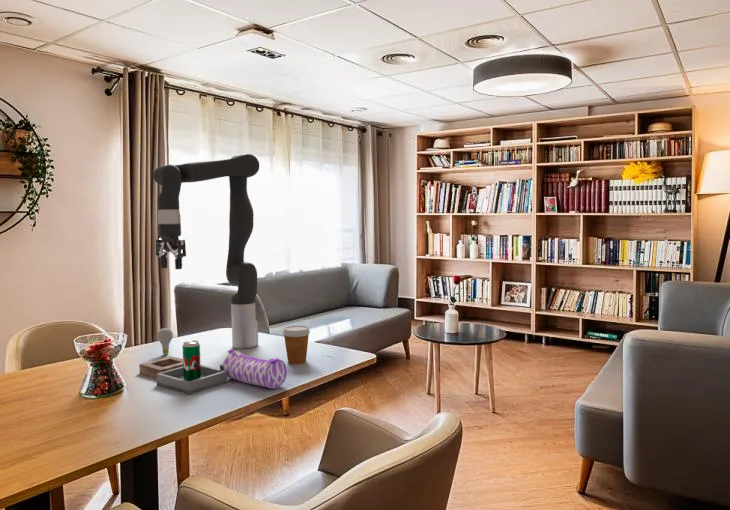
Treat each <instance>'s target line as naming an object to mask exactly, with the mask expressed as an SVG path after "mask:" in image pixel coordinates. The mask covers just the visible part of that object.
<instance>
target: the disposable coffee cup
mask: <svg viewBox="0 0 730 510" xmlns="http://www.w3.org/2000/svg"><path fill="white" fill-rule="evenodd" d="M310 332H311V330H310V328H309V326H307V325H290V326H289V325H288V326H286V327H284V328H283V330H282V334H283V337H284V344H285V351H286V357H287V363H288V364H290V365H301V363H302V364H305V363H306V362H307V355H308V346H309V344H308V343H309V337H310V336H309V335H310ZM304 362H305V363H304Z"/></svg>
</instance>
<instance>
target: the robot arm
mask: <svg viewBox="0 0 730 510" xmlns="http://www.w3.org/2000/svg"><path fill="white" fill-rule="evenodd" d="M259 170H260V162H259V159H258V158H257V157H256V156H255V155H254V154H251V153H245V152H244V153H241V154H239V153H238V154H236V155H233V156H232V157H231V158H227V159H219V160H203V161H193V162H191V161H190V162H187V163H182V164H166V165H161V166H158V167H157V168H155V170H154V172H153V180H154V182H155V183H157V185H159V186H161V191H160V193H158V196H157V209H158V210H157V230H158V236H159V237H161V238H156V239H155V256H156V257H158V258H159V260H160V268H161V269H167V268H168V257H167V256H168V254H169V253H171V254H172V255H173V257H174V258H175V259H174V269H175V270H182V268H183V258H184V257H187V252H186V251H187V250H186V239H183V238H182V239H179V237H180V236H182V222H181V221H182V220H181V218H182V217H181V212H180V199H179V198H180V195H181V194H180V193H181V187H182V184H183V183H184V184H185V183H196V182H197V183H198V182H203V181H209V180H215V179H219V178H226V177H228V181H229V215H228V216H229V219H228V220H229V221H228V222H229V223H228V225H229V228H228V229H229V234H228V236H229V237H228V250H227V251H228V252H227V260H226V261H227V262H226V268H225V276H226V279H227V281H228V283H229V284H231V285H233V286H237V292H236V293H235V294H232V296H230V308H231V309H230V310H231V313H230V314H231V337H232V339H231V340H232V341H231V343H232V348H233V349H251V348H254V347H256V346H257V345H259V325H258V320H256V319H257V318H256V298H257V294H258V272H257V268H256V266H255V265H254V264H253V263H251V262H247V261H245V260H244V259H245V249H246V246H247V243H248V242H249V239H250V237H251V236H252V232H253V229H254V218H255V217H254V209H253V205H252V202H251V200H250V197H249V195H248V179H249V178H251V177H253V176H255V175H257V173H258V172H259Z"/></svg>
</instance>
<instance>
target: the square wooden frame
mask: <svg viewBox="0 0 730 510" xmlns="http://www.w3.org/2000/svg"><path fill="white" fill-rule="evenodd" d="M138 366H139V374H141V375H145V376H148V377H152V378H154V379H157V375H156V374H158V373H161V372H165V371H168V370H172V369H176V368H179V367H183V358H181V357H178V356H177V357H176V356H172V355H171V356H167V357H163V358H159V359H155V360H151V361H146V362H143V363H140V364H139V365H138Z"/></svg>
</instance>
